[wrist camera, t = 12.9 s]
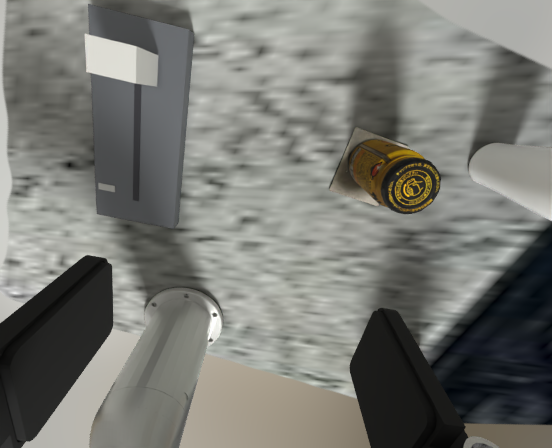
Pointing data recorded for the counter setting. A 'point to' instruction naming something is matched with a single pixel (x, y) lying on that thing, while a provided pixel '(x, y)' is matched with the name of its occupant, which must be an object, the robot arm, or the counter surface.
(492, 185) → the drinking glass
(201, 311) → the robot arm
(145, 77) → the fader knob
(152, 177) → the fader panel
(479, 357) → the counter surface
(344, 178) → the condiment
